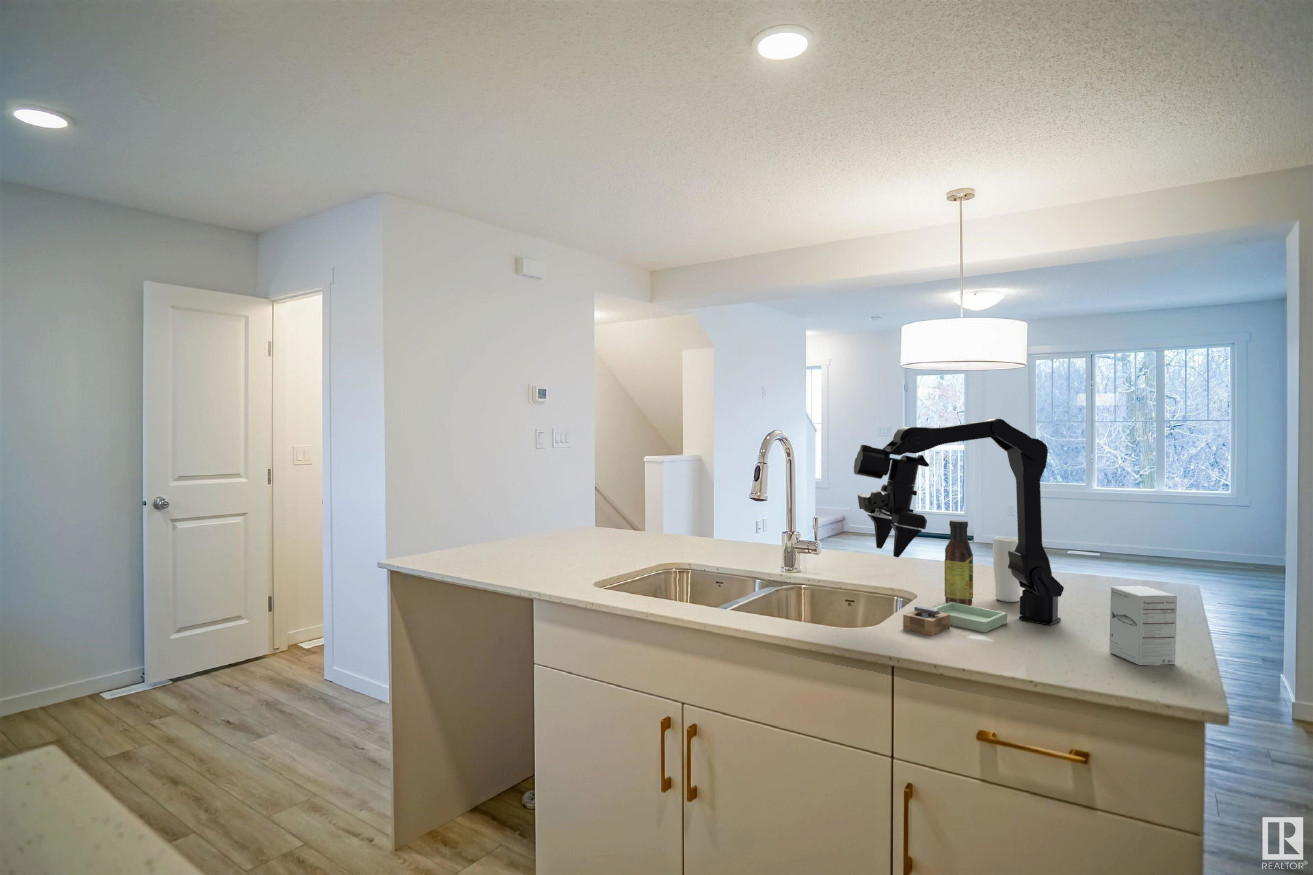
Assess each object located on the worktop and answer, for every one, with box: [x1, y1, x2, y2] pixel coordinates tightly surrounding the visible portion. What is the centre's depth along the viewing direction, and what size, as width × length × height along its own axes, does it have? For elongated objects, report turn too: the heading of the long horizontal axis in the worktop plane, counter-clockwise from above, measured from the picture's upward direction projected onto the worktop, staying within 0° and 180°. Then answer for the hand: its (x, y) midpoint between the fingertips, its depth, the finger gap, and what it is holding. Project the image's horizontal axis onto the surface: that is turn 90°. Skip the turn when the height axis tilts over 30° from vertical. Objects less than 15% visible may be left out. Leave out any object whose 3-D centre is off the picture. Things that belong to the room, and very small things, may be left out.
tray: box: [932, 602, 1008, 633], centre depth 151 cm, size 12×11×2 cm
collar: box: [902, 610, 951, 637], centre depth 145 cm, size 8×6×3 cm
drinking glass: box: [992, 536, 1021, 603], centre depth 170 cm, size 7×7×15 cm
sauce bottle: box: [944, 519, 974, 606], centre depth 165 cm, size 7×6×20 cm
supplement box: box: [1108, 585, 1178, 666], centre depth 127 cm, size 7×7×13 cm
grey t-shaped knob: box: [913, 605, 939, 618], centre depth 145 cm, size 5×2×4 cm, turn 41°
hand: (887, 552), depth 154 cm, fingers open, 9 cm apart
